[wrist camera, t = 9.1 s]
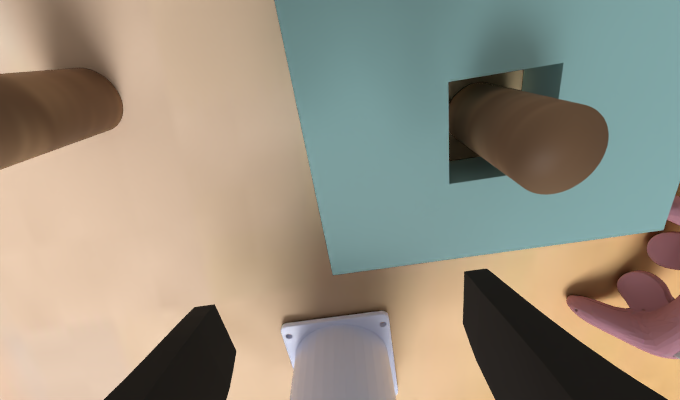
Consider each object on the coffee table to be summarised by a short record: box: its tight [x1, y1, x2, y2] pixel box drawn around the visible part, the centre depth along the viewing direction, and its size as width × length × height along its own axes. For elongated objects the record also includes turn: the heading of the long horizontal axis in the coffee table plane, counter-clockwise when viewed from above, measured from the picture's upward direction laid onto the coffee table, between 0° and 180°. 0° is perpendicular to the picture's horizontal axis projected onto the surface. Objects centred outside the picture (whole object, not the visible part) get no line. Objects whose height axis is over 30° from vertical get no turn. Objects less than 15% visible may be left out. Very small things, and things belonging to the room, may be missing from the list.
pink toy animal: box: [566, 195, 680, 359], centre depth 19 cm, size 10×5×7 cm, turn 166°
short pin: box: [449, 83, 609, 195], centre depth 14 cm, size 3×3×7 cm
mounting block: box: [274, 0, 680, 275], centre depth 16 cm, size 14×18×3 cm
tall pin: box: [0, 68, 123, 170], centre depth 12 cm, size 3×3×9 cm
